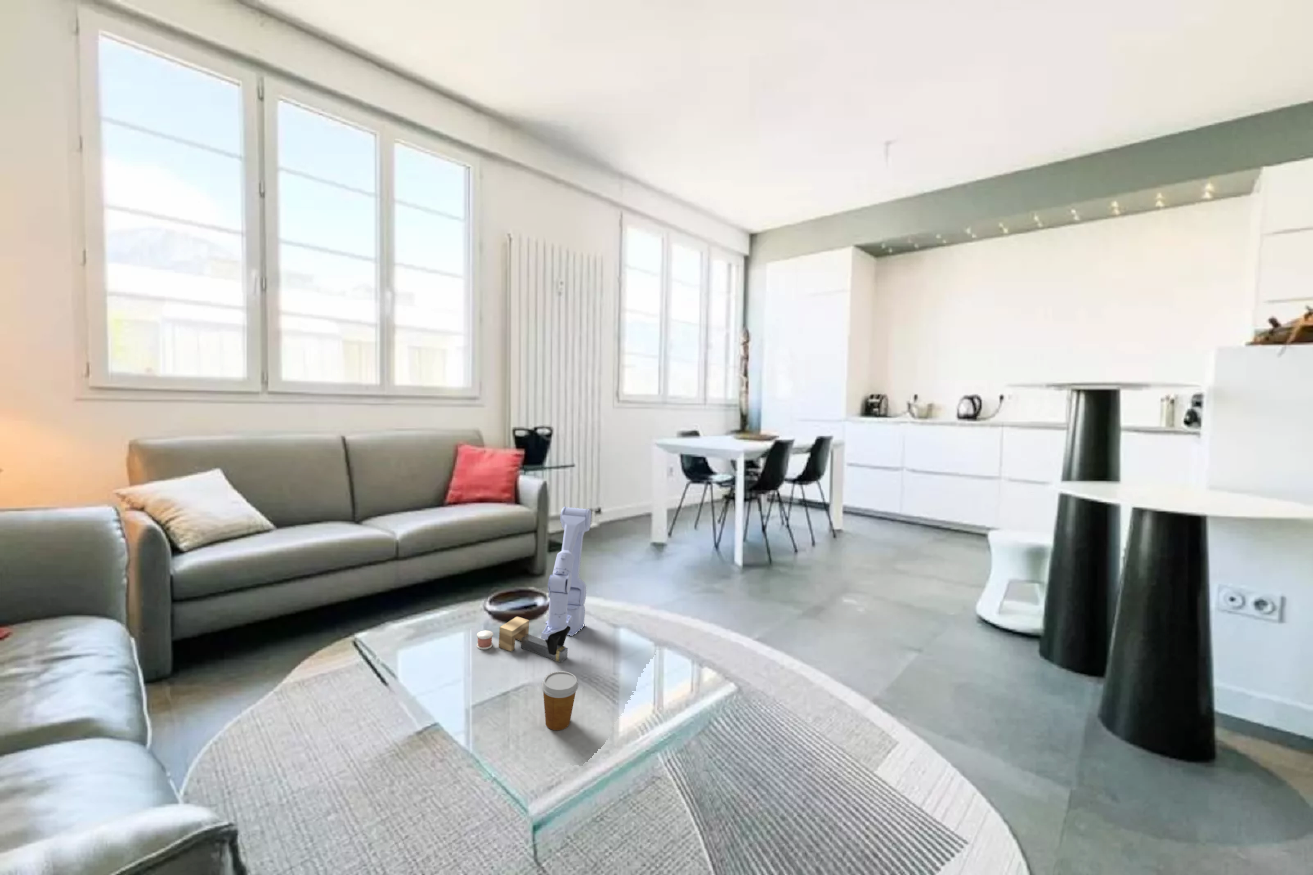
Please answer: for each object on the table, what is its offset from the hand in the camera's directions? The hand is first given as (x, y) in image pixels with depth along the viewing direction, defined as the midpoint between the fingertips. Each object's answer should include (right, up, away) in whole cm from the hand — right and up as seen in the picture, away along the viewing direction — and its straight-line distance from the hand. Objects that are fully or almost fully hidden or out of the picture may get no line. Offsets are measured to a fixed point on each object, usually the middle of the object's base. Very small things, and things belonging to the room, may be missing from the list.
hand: (555, 651), depth 179 cm
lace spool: (-24, 0, +4) cm, 24 cm away
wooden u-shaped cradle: (-15, 0, +6) cm, 16 cm away
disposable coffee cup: (+6, -7, -32) cm, 33 cm away
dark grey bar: (-4, -1, +2) cm, 5 cm away
